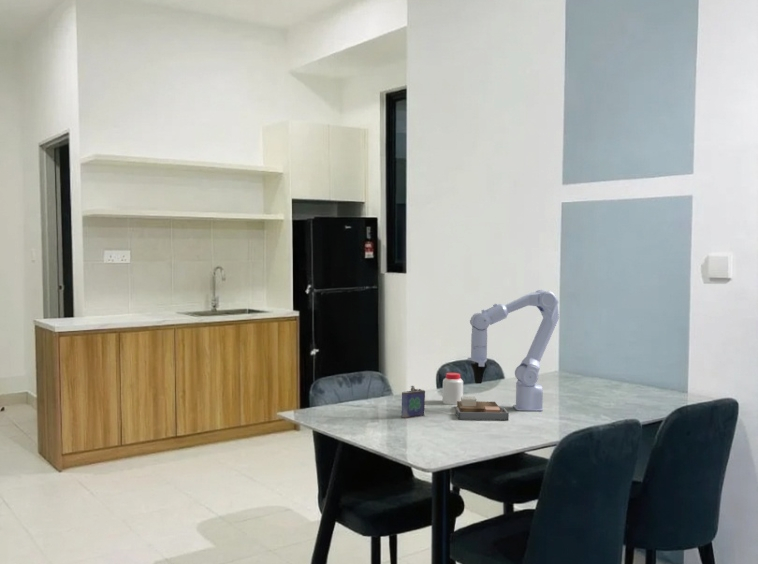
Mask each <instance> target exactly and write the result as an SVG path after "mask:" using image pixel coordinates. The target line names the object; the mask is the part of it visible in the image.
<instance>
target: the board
mask: <svg viewBox="0 0 758 564" xmlns="http://www.w3.org/2000/svg"><path fill="white" fill-rule="evenodd" d="M484 406H486V407H499V405H498V404H497V402H496V401H477V400H476V406H462V405H461V401H457V405H456V407H458V408H459V410H460V412H484Z"/></svg>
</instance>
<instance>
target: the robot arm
mask: <svg viewBox="0 0 758 564" xmlns="http://www.w3.org/2000/svg"><path fill="white" fill-rule="evenodd" d="M558 304H559V300H558V298H557V297H556V295H555V293H554V292H552V291H550V290H547V291H546V290H543V289H538V290H535V291H533V292H529V293H527V294H525V295H522V296H520V297H519V298H517V299H514V300H513V301H511V302H509V303H507V304H505V305H504V304H501V303H498V304H497V303H494V304H492V307H489V308H487V309H481V312H476V313H474V314H472V316H471V318H470V320H469V323H470V325H471V339H470V341H471V343H470V344H471V346H470V357H467V360H468V361H472V362H471V363H470V366H471V368H472V373H473V380H474V383H475V384H482V382H483V378H484V374H485V372H486V369H487V368H488V365H487V363H486V362H487V361H488V358H487V356H488V328H489V327H490V325H491V326H492V325H494V324H496V323H498V322H501V321H503V320H505V319H507V317H508V315H509V314H510V313H512V312H515V311H518V310H520V309H523V308H526V307H528V306H532V307H536V308H537V309H538V311H540V315H541V316H542V320H541V321H540V324H539V327H538V329H537V331H536V334H535V336H534V339H532V340H533V341H532V342H531V345H530V347H529V349H528V352H527V353H526V356H525V357H524V358H523V359H522V360H521V363H520V364H519V365H518V366H517V367H516V368H515V370H514V376H515V378H516V380H517V381H516V383H515V404H513V405H512V407H513V408H514V409H515V410H516V411H530V412H531V411H534V412H536V411H537V412H539V411H540V412H543V411H544V410H543V403H544V402H543V399H544V398H543V397H544V395H543V394H544V393H543V386H542V385H541V384H537V382H538V380H539V372H540V368H541V366H540V362H541V361H542V359H543V355H544V353H545V351H546V348H547V346H548V344H549V342H550V340H551V337H552V335H553V333H554V330H555V328H556V326H557V323H558V321H559V318H560V316H559V306H558ZM473 362H474V363H473Z"/></svg>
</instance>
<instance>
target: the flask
mask: <svg viewBox="0 0 758 564" xmlns="http://www.w3.org/2000/svg"><path fill="white" fill-rule="evenodd" d="M409 388H410V390H407V391H401V419H412V418H418V417H424V416H425V402H426V401H425V400H426V390H424V389H421V388H415V385H410V386H409Z"/></svg>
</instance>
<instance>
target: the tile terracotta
mask: <svg viewBox="0 0 758 564" xmlns="http://www.w3.org/2000/svg"><path fill="white" fill-rule="evenodd" d="M484 412H485V413H501V408H500V407H499V406H498V407H486V406H484Z"/></svg>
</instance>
